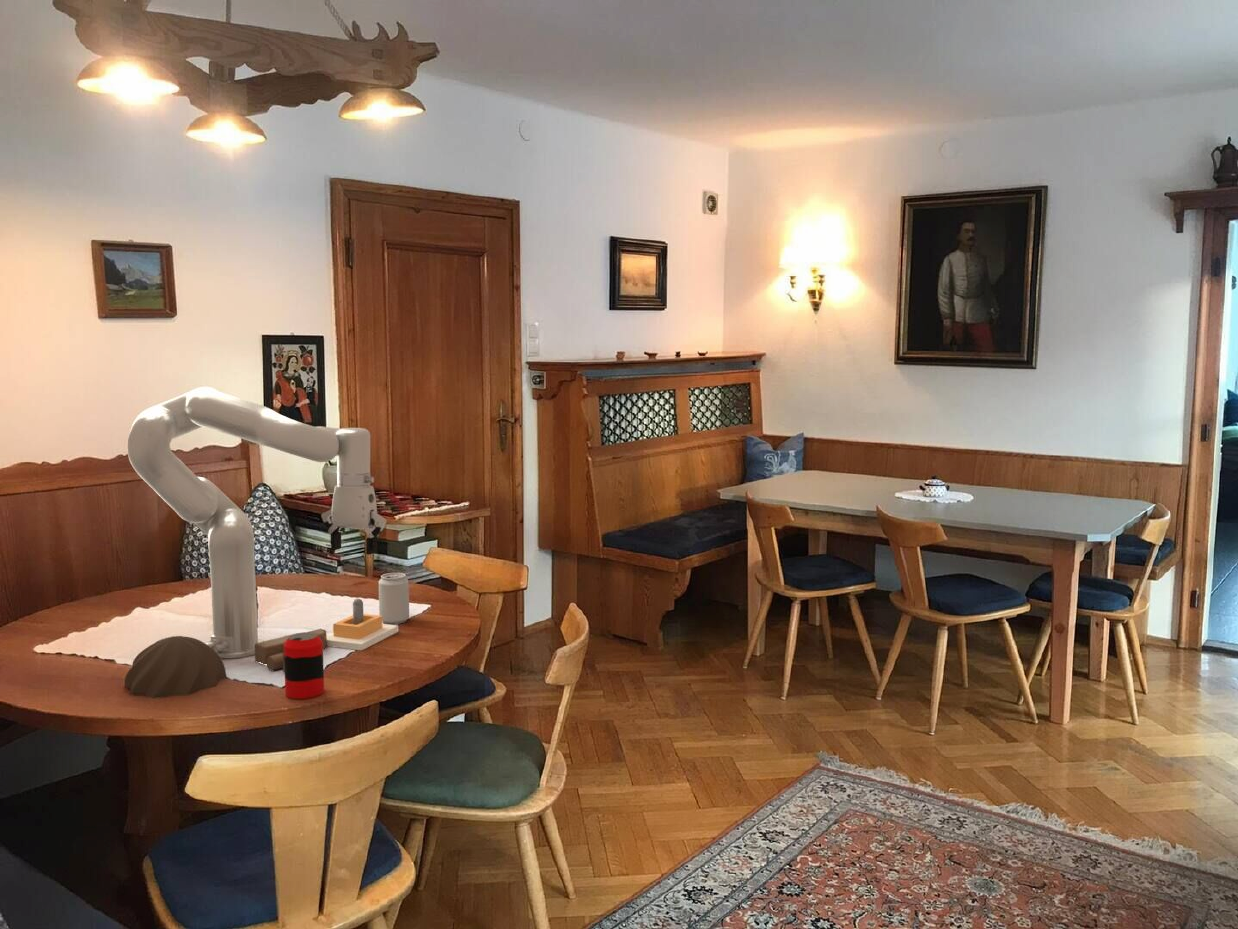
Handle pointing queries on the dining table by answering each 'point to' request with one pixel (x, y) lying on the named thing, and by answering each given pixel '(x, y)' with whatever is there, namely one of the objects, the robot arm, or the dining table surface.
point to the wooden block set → (279, 650)
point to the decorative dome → (174, 668)
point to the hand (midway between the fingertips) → (353, 551)
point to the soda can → (303, 666)
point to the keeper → (365, 641)
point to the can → (394, 598)
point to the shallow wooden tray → (357, 627)
